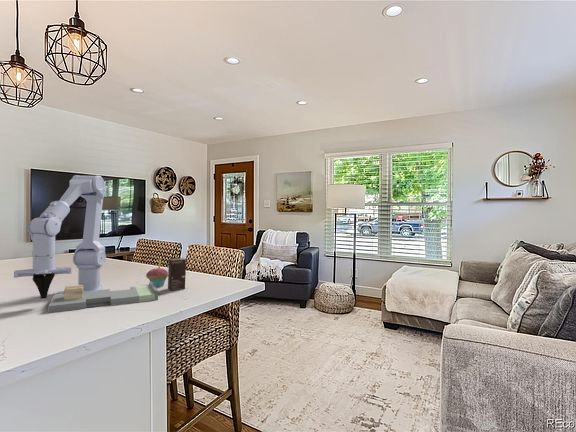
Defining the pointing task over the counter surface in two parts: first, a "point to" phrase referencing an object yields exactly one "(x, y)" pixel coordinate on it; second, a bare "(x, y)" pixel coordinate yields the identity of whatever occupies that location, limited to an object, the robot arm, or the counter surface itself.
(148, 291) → the track
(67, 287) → the block
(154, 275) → the cupcake
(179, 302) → the counter surface
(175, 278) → the box
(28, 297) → the counter surface
